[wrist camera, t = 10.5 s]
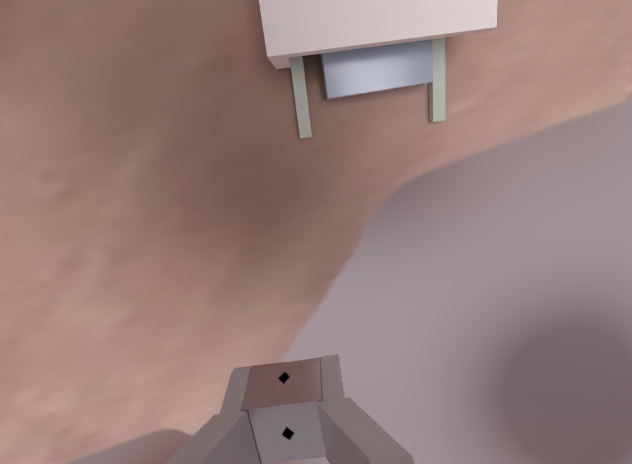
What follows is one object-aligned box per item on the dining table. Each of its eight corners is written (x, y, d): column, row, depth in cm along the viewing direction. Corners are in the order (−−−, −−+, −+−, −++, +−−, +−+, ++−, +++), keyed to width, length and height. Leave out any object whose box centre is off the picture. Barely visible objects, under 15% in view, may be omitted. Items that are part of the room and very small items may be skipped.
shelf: (257, -68, 25) (240, -126, 19) (456, -95, 25) (503, -163, 19) (286, 139, 30) (280, 145, 24) (455, 118, 30) (492, 119, 24)
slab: (307, -41, 26) (307, -60, 23) (413, -59, 26) (426, -81, 23) (326, 100, 29) (328, 98, 27) (421, 85, 29) (433, 81, 26)
